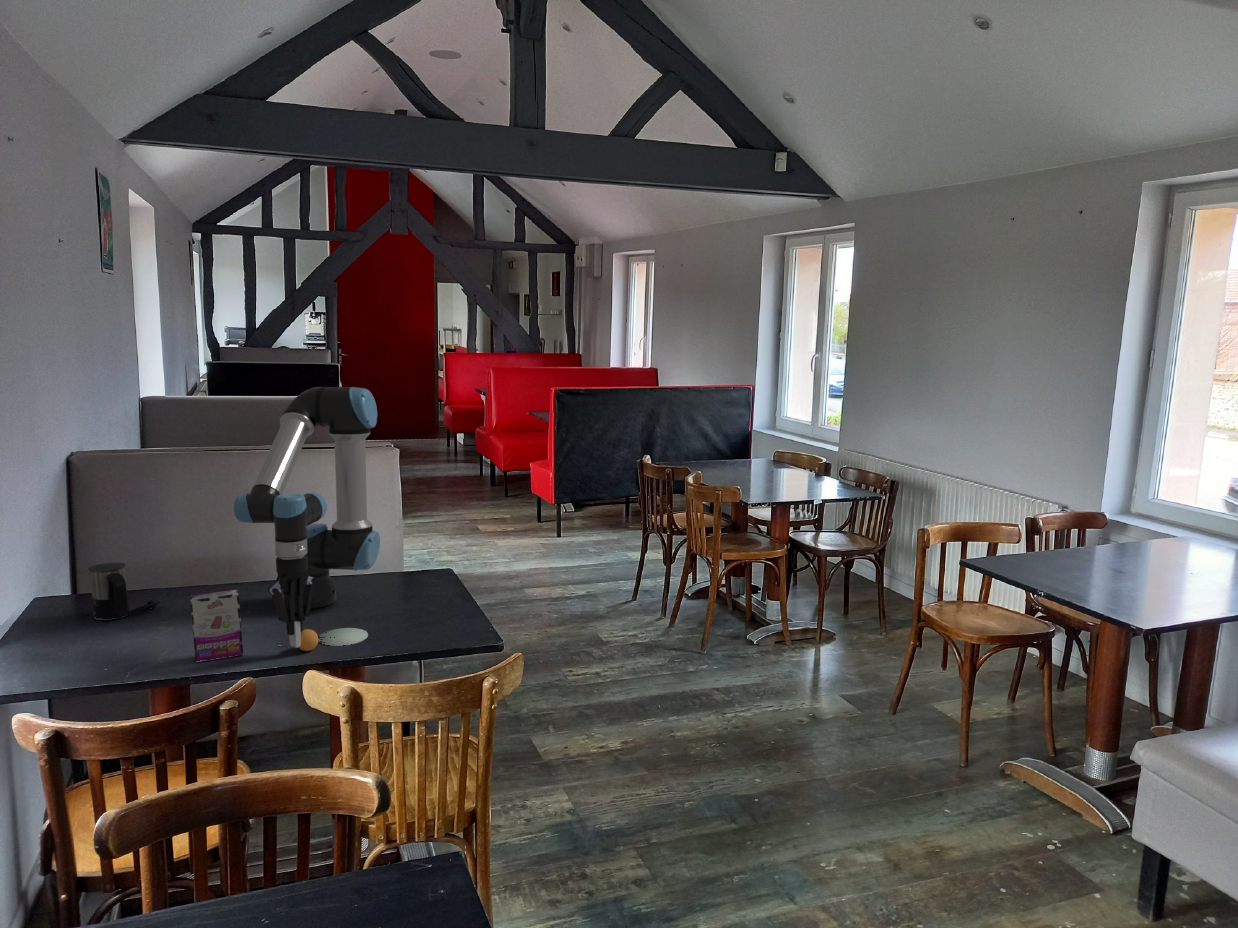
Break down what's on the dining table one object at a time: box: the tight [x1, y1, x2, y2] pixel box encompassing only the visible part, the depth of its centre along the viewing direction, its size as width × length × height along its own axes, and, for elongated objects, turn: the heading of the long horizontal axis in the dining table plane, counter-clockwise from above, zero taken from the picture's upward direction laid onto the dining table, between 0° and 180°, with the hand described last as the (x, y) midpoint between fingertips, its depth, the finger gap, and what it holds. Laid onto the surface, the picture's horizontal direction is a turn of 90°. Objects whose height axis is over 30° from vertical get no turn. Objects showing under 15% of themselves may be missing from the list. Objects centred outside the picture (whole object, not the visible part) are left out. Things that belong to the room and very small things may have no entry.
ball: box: [297, 628, 319, 652], centre depth 225 cm, size 6×6×6 cm
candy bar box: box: [189, 589, 244, 661], centre depth 219 cm, size 11×5×16 cm, turn 117°
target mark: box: [318, 627, 369, 647], centre depth 234 cm, size 13×13×1 cm
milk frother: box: [87, 561, 163, 619], centre depth 249 cm, size 14×16×15 cm
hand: (295, 645), depth 222 cm, fingers closed
